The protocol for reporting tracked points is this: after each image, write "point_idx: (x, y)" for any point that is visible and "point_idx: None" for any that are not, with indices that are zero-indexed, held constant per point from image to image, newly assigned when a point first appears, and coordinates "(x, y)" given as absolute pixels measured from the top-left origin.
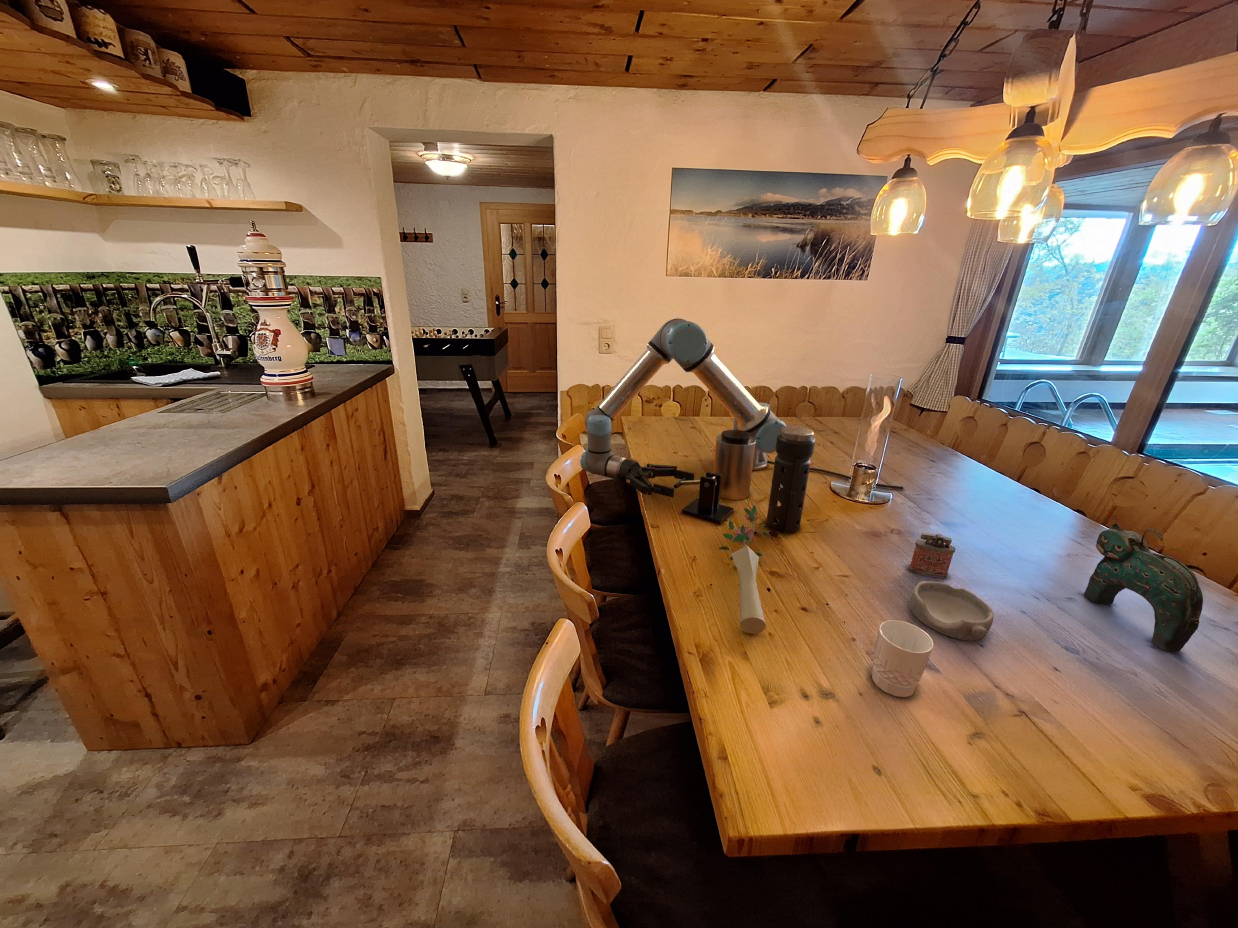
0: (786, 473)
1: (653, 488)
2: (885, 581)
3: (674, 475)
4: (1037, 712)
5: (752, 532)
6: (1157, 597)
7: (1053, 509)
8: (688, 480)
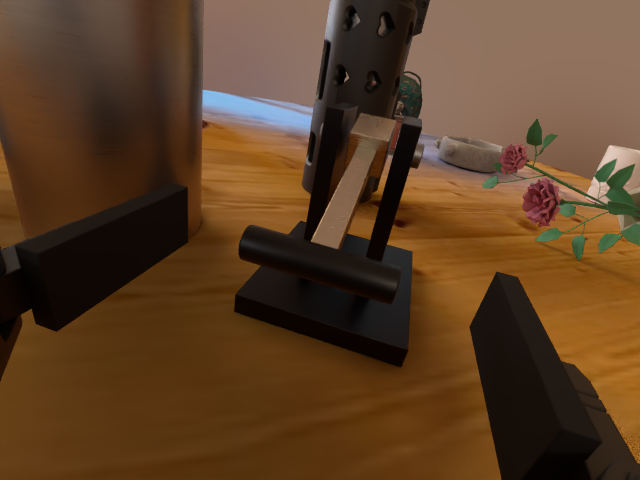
0: (410, 41)
1: (622, 450)
2: (432, 168)
3: (54, 309)
4: (537, 171)
5: (556, 178)
6: (411, 100)
7: (207, 91)
8: (166, 250)
